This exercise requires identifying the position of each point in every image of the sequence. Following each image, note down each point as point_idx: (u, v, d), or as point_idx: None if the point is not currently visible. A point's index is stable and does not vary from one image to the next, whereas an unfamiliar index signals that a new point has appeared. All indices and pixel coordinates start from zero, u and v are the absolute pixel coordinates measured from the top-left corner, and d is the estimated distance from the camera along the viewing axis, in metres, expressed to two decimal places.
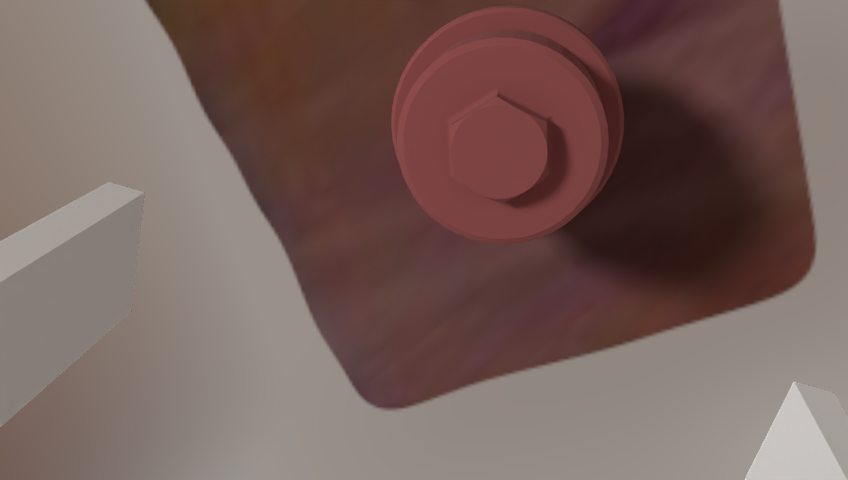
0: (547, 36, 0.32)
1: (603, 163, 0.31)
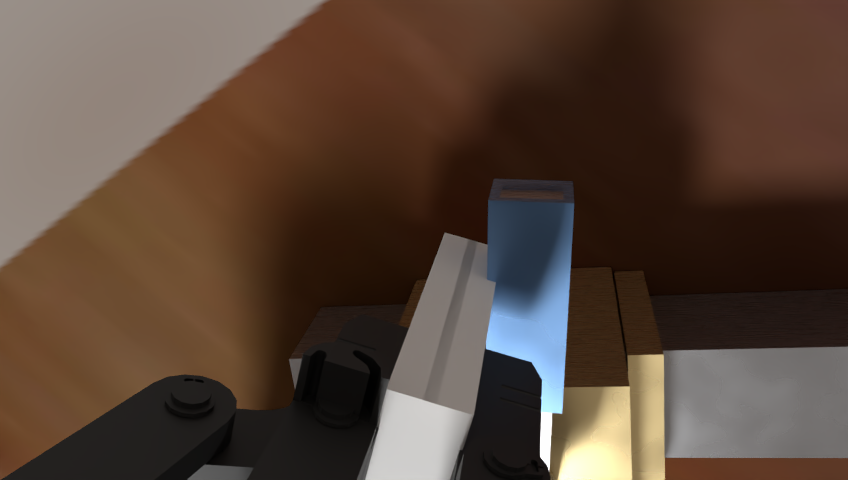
0: None
1: None
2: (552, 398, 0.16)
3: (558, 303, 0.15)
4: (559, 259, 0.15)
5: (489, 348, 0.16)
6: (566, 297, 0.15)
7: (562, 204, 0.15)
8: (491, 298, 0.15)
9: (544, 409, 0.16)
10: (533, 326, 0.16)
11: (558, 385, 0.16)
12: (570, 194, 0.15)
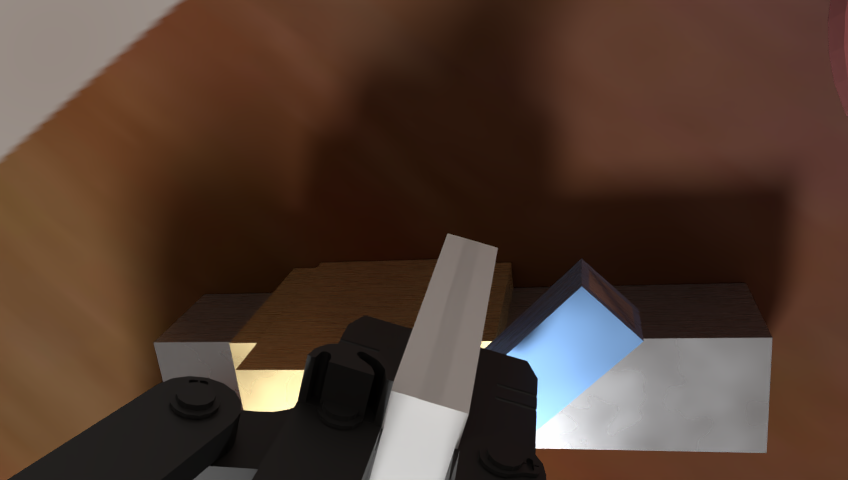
0: None
1: None
2: None
3: (558, 400, 0.16)
4: (591, 370, 0.15)
5: None
6: (569, 401, 0.16)
7: (633, 334, 0.15)
8: (487, 297, 0.15)
9: None
10: None
11: None
12: (638, 326, 0.15)
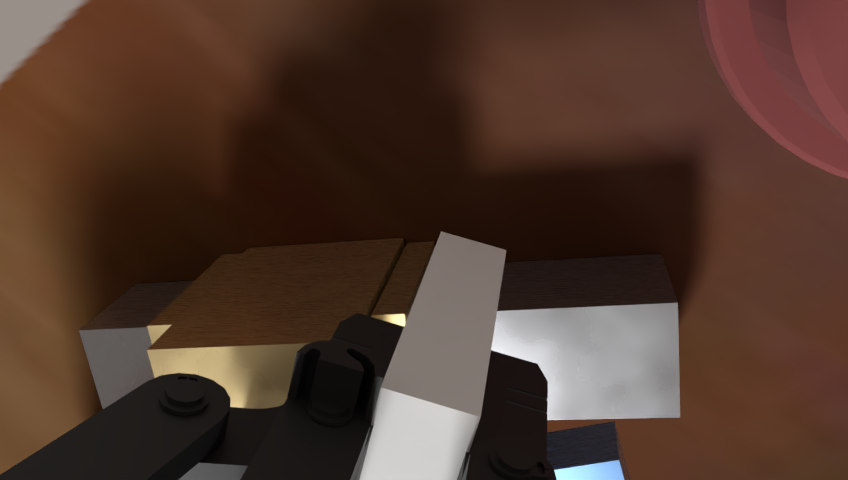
0: None
1: None
2: None
3: None
4: None
5: None
6: None
7: None
8: (497, 300, 0.15)
9: None
10: None
11: None
12: None
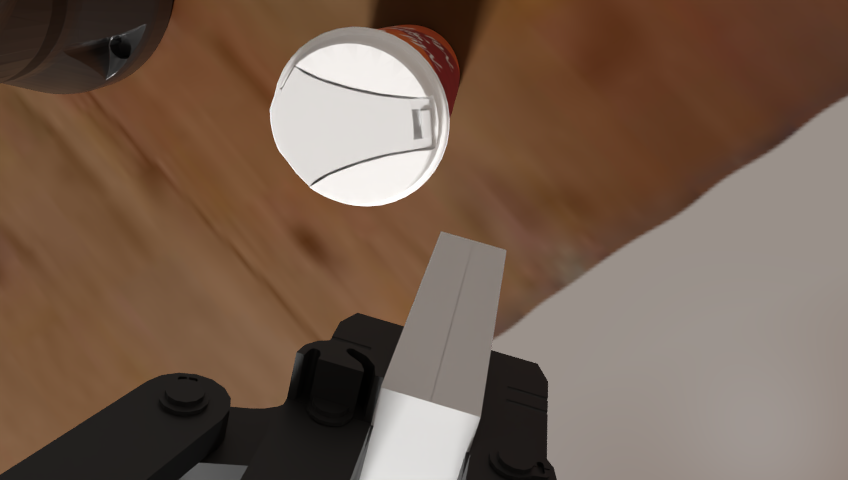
0: None
1: None
2: None
3: None
4: None
5: None
6: None
7: None
8: (496, 299, 0.15)
9: None
10: None
11: None
12: None
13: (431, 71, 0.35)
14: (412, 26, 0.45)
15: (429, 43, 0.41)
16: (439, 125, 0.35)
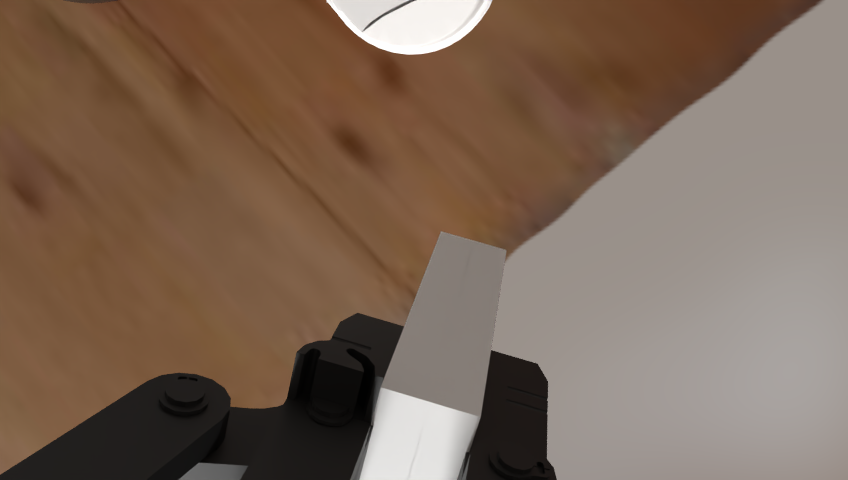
0: None
1: None
2: None
3: None
4: None
5: None
6: None
7: None
8: (497, 300, 0.15)
9: None
10: None
11: None
12: None
13: None
14: None
15: None
16: None
